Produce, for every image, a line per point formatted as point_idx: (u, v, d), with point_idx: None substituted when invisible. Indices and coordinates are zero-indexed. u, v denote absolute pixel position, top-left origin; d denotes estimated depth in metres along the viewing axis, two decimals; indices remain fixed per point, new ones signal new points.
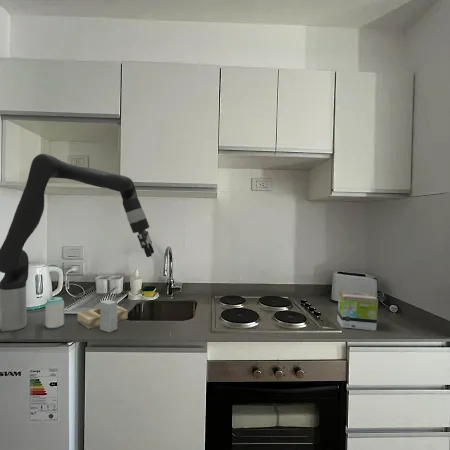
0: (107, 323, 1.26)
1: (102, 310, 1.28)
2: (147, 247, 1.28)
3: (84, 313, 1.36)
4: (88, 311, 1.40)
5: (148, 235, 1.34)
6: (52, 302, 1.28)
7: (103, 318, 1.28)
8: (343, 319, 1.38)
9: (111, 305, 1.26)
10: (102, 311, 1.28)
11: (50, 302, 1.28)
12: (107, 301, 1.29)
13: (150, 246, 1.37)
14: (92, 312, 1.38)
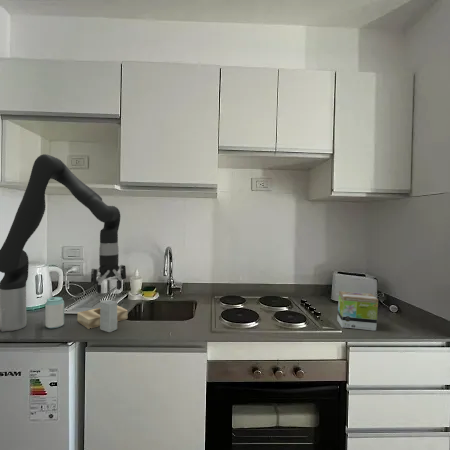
0: (107, 323, 1.26)
1: (102, 310, 1.28)
2: (97, 284, 1.24)
3: (84, 313, 1.36)
4: (88, 311, 1.40)
5: (113, 272, 1.27)
6: (52, 302, 1.28)
7: (103, 318, 1.28)
8: (343, 319, 1.38)
9: (111, 305, 1.26)
10: (102, 311, 1.28)
11: (50, 302, 1.28)
12: (107, 301, 1.29)
13: (118, 282, 1.31)
14: (92, 312, 1.38)
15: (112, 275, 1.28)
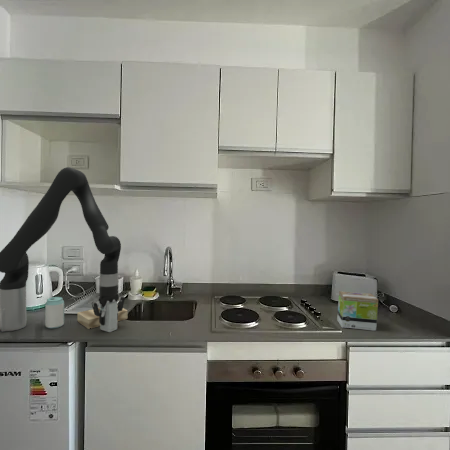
0: (107, 323, 1.26)
1: None
2: None
3: (84, 313, 1.36)
4: (88, 311, 1.40)
5: None
6: (52, 302, 1.28)
7: None
8: (343, 319, 1.38)
9: (111, 305, 1.26)
10: None
11: (50, 302, 1.28)
12: None
13: None
14: (92, 312, 1.38)
15: None
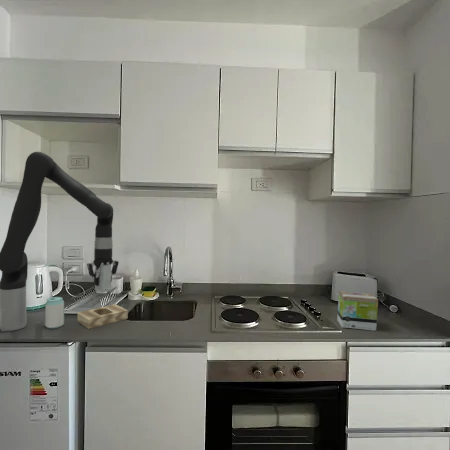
0: (101, 284, 1.35)
1: None
2: None
3: (84, 313, 1.36)
4: (88, 311, 1.40)
5: (106, 264, 1.36)
6: (52, 302, 1.28)
7: None
8: (343, 319, 1.38)
9: (105, 267, 1.35)
10: None
11: (50, 302, 1.28)
12: None
13: None
14: (92, 312, 1.38)
15: None
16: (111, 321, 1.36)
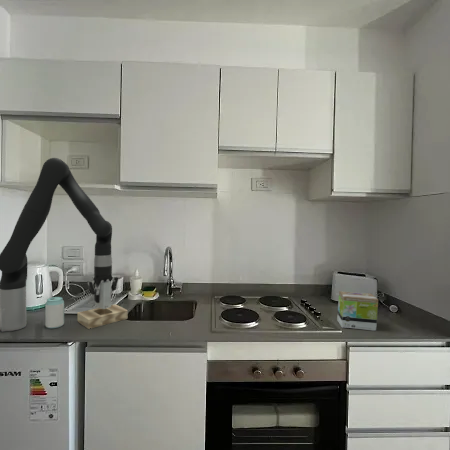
0: (101, 301, 1.37)
1: None
2: None
3: (84, 313, 1.36)
4: (88, 311, 1.40)
5: (106, 281, 1.38)
6: (52, 302, 1.28)
7: None
8: (343, 319, 1.38)
9: (105, 284, 1.37)
10: None
11: (50, 302, 1.28)
12: None
13: None
14: (92, 312, 1.38)
15: None
16: (111, 321, 1.36)
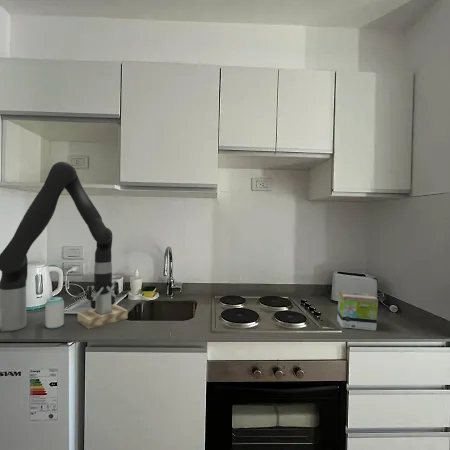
0: (101, 313, 1.37)
1: (97, 301, 1.39)
2: (92, 300, 1.35)
3: (84, 313, 1.36)
4: (88, 311, 1.40)
5: (106, 288, 1.38)
6: (52, 302, 1.28)
7: (98, 308, 1.38)
8: (343, 319, 1.38)
9: (105, 296, 1.37)
10: (97, 302, 1.39)
11: (50, 302, 1.28)
12: None
13: (111, 297, 1.42)
14: (92, 312, 1.38)
15: (106, 291, 1.39)
16: (111, 321, 1.36)
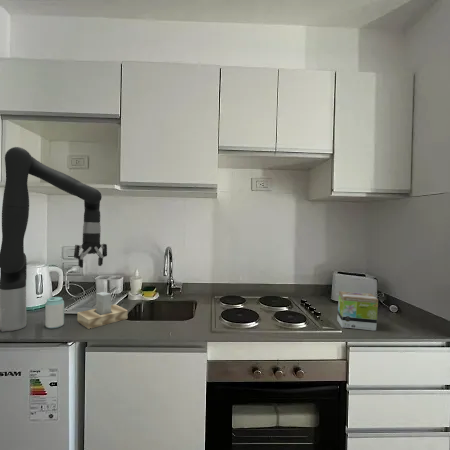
0: (101, 313, 1.37)
1: (97, 301, 1.39)
2: (80, 259, 1.38)
3: (84, 313, 1.36)
4: (88, 311, 1.40)
5: (94, 249, 1.41)
6: (52, 302, 1.28)
7: (98, 308, 1.38)
8: (343, 319, 1.38)
9: (105, 296, 1.37)
10: (97, 302, 1.39)
11: (50, 302, 1.28)
12: (102, 293, 1.40)
13: (99, 259, 1.44)
14: (92, 312, 1.38)
15: (94, 252, 1.41)
16: (111, 321, 1.36)
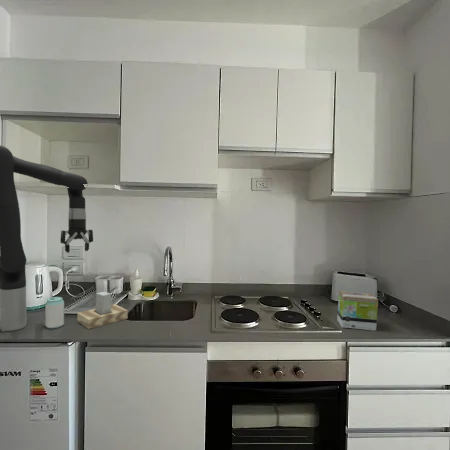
0: (101, 313, 1.37)
1: (97, 301, 1.39)
2: (66, 244, 1.42)
3: (84, 313, 1.36)
4: (88, 311, 1.40)
5: (80, 234, 1.45)
6: (52, 302, 1.28)
7: (98, 308, 1.38)
8: (343, 319, 1.38)
9: (105, 296, 1.37)
10: (97, 302, 1.39)
11: (50, 302, 1.28)
12: (102, 293, 1.40)
13: (86, 244, 1.49)
14: (92, 312, 1.38)
15: (80, 237, 1.46)
16: (111, 321, 1.36)
